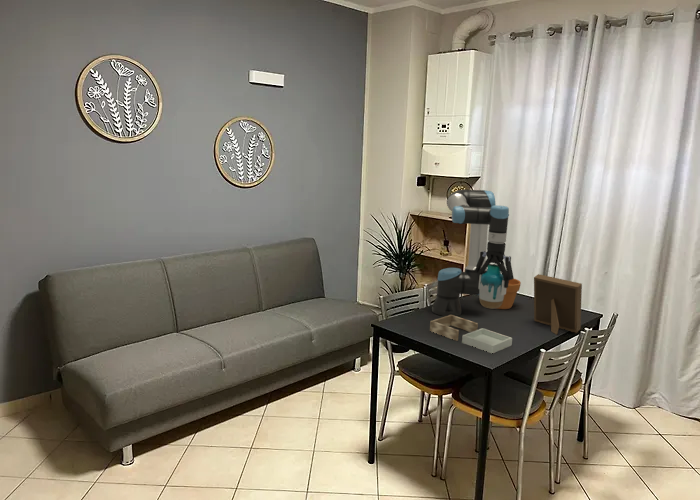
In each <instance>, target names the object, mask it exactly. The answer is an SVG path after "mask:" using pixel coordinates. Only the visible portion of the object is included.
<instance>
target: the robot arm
mask: <svg viewBox="0 0 700 500" xmlns="http://www.w3.org/2000/svg"><path fill="white" fill-rule="evenodd" d="M494 194H495V193H493V191H491V190H484V189H482V190H481V189H459V190H456V191H453V192H452V193H450V194H449V195H448V197H447V199H446V207H447V208H448V209H449V210H450V211H451V221H452V223H453V224H460V225H461V224H465V225H466V224H468V225H469V224H470V234H469V248H468V263H467V264H468V265H467V266H466V267H465V268H464V271H462V269H461V268H458V267H447V268H443V269H442V268H441V270H439V271H438V274H437V284H436V285H437V286H436V296H435V299H434V302H433V304H432V307H431V312H432V313H434V314H435V315H438V316H442V317H445V316H448V315H454V316H457V317H459V316H460V315H461V314H462V307H461V303H460V295H473V296H475V295H476V296H479V289H480V281H481V277H482V275H483V274H484V273H486V272H487V268H488V265H489V264H496V265H498V266H499V268H500V271H501V274H502V276H503V278H504V280H502V289H501V295H505V294H506V288H508V285H509V280H512V279H515V278H514V274H513V273H514V272H513V268H512V263H511V261H512V256H511V255H509V256H506V255H505V252H506V246H507V245H506V242H507V235H508V234H507V233H508V223H509V216H510V214H509V211H510V208H509V207H508V206H506V205H498V204H497V203H496V196H495V195H494ZM496 204H497V205H496ZM486 257H487V258H486Z"/></svg>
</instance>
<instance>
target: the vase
mask: <svg viewBox="0 0 700 500" xmlns="http://www.w3.org/2000/svg"><path fill="white" fill-rule="evenodd" d="M502 280H504V278H503V276H502V273H501V271H500V268H499V266H498V265H497V264H495V263H490V264H489V265H488V267H487V272H486V273H484V274H483V275H482V277H481V281H480V289H479V295H478V296H479V297H478V298H479V300H478V301H479V303H480V304H481V306H482V307H484V308H487V309H493V310H494V309H496V308H499V307H500V306H501V305H502V303H503V299H504V295H501V289H502Z"/></svg>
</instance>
